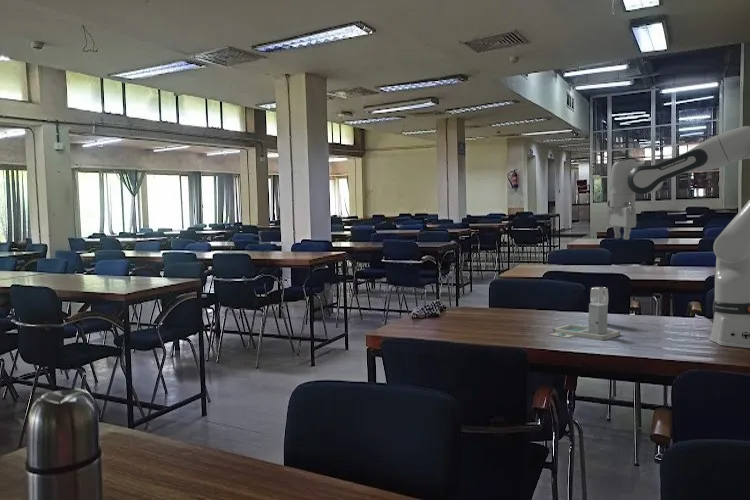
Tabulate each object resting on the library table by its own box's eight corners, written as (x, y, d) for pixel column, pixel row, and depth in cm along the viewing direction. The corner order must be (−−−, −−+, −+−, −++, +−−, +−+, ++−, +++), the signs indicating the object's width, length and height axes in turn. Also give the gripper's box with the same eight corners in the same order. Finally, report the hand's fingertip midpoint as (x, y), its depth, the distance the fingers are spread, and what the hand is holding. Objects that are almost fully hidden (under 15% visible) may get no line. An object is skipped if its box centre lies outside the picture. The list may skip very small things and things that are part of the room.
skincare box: (587, 334, 227) (587, 303, 226) (597, 333, 228) (597, 302, 227) (598, 337, 221) (598, 305, 220) (608, 336, 222) (608, 304, 221)
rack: (620, 334, 224) (620, 331, 224) (596, 342, 213) (596, 338, 213) (570, 327, 240) (570, 324, 240) (545, 334, 229) (545, 330, 229)
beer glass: (605, 326, 241) (605, 289, 240) (588, 324, 246) (588, 288, 245) (610, 323, 247) (610, 287, 246) (593, 321, 251) (593, 286, 250)
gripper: (641, 202, 215) (640, 240, 216) (622, 202, 235) (621, 237, 236) (623, 202, 215) (622, 240, 216) (605, 202, 235) (605, 237, 236)
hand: (621, 238), depth 226 cm, fingers open, 8 cm apart
